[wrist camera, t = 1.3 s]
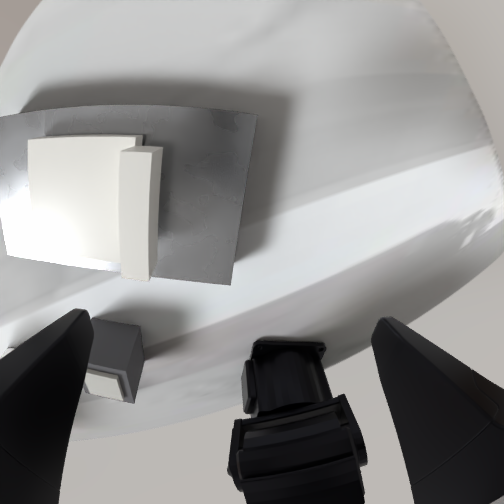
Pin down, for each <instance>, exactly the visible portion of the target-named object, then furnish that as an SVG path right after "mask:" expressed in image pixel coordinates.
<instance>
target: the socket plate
mask: <svg viewBox="0 0 504 504" xmlns="http://www.w3.org/2000/svg"><path fill="white" fill-rule="evenodd" d="M257 116H258V115H255V114H248V113H241V112H234V111H226V110H217V109H207V108H196V107H183V106H166V105H95V106H78V107H66V108H56V109H47V110H39V111H32V112H26V113H20V114H14V115H8V116H3V117H0V213H1V219H2V226H3V231H4V237H5V242H6V247H7V252H8V255H13V256H19V257H24V258H30V259H36V260H42V261H48V262H54V263H60V264H66V265H72V266H79V267H86V268H92V269H99V270H106V271H113V272H121V263H115V262H107V261H100V260H93V259H85V258H78V257H71V256H64V255H58V254H51V253H44V252H38V251H37V249H36V243H35V237H34V230H33V223H32V215H31V206H30V195H29V180H28V140H29V139H33V138H37V137H44V136H60V135H91V134H118V135H143V140H142V146H155V147H163V154H162V165H161V178H160V194H159V214H158V261H157V264H156V266H155V268H154V271H153V273H152V276H151V277H159V278H167V279H176V280H185V281H193V282H203V283H212V284H222V285H231V279H232V272H233V265H234V259H235V252H236V245H237V239H238V232H239V226H240V219H241V213H242V207H243V200H244V194H245V188H246V182H247V175H248V169H249V163H250V157H251V151H252V145H253V139H254V133H255V127H256V121H257Z"/></svg>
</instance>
